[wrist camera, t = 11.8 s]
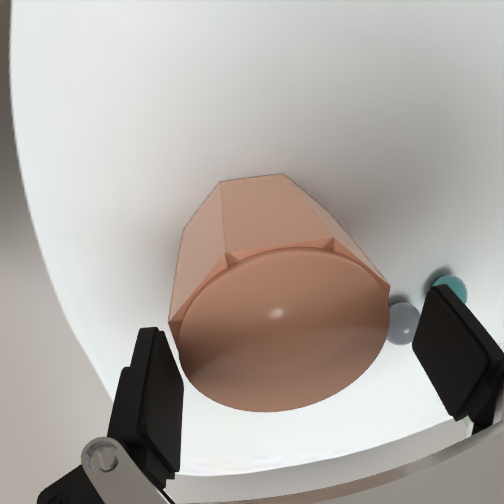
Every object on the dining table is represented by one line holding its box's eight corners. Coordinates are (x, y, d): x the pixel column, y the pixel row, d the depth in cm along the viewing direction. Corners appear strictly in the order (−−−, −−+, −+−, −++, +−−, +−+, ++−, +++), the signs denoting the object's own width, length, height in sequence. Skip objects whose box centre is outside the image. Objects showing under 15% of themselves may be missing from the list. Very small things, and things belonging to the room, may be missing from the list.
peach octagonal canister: (325, 169, 16) (408, 235, 9) (324, 290, 19) (374, 391, 12) (175, 188, 15) (145, 274, 8) (202, 309, 19) (202, 423, 12)
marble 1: (430, 336, 19) (416, 301, 21) (424, 329, 17) (408, 289, 19) (394, 354, 20) (382, 318, 22) (383, 349, 18) (369, 309, 20)
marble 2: (465, 316, 19) (448, 285, 21) (480, 295, 17) (460, 262, 19) (434, 329, 19) (418, 296, 21) (448, 309, 17) (429, 273, 19)
